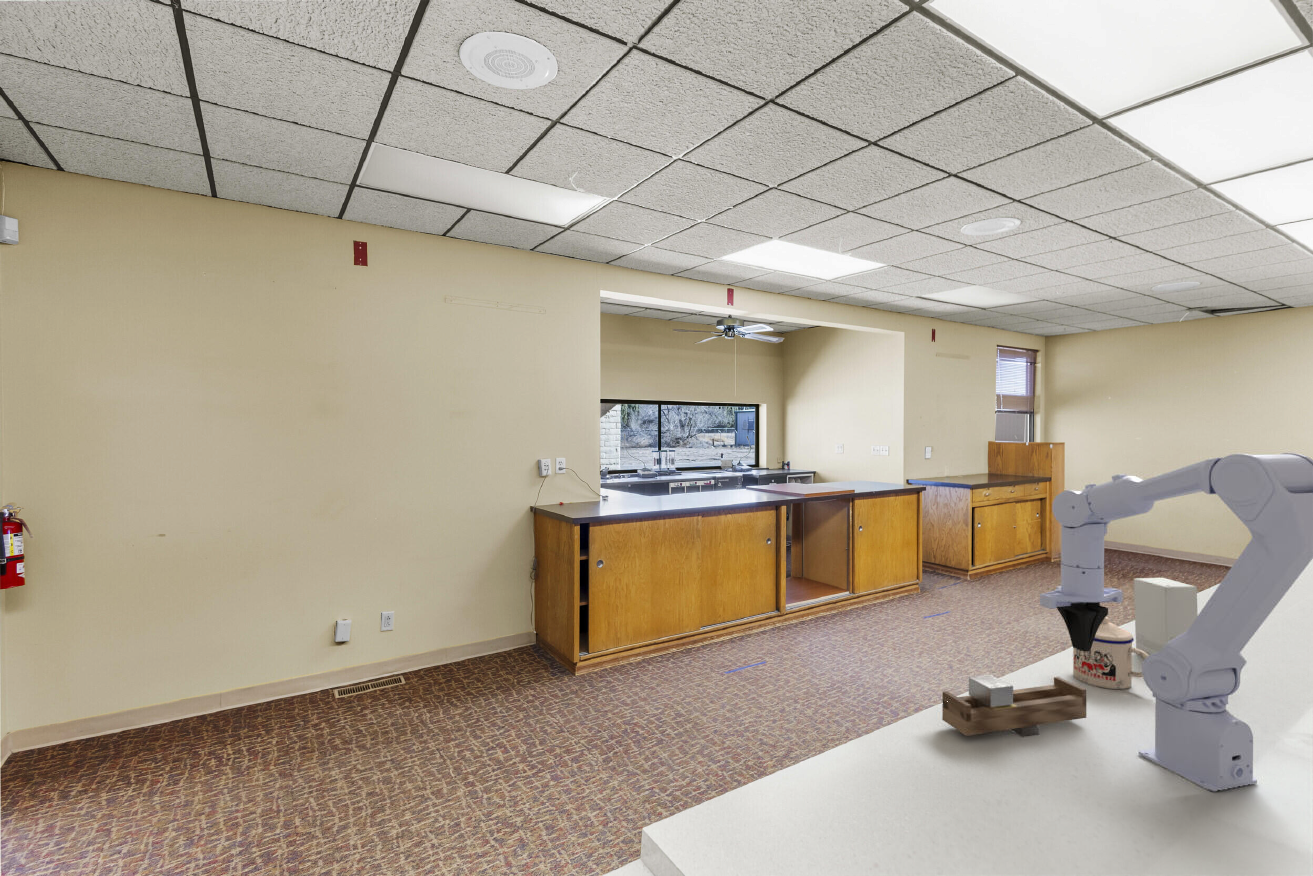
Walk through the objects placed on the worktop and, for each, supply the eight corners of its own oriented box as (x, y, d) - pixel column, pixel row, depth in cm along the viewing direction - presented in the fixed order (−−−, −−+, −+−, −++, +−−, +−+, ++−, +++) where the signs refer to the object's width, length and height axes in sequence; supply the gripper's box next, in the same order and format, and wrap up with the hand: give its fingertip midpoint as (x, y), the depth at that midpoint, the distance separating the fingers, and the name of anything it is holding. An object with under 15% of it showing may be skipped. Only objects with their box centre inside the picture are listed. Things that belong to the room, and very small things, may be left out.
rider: (990, 701, 96) (990, 674, 96) (1012, 713, 91) (1013, 685, 91) (968, 703, 95) (968, 677, 95) (990, 716, 90) (990, 688, 90)
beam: (1055, 709, 100) (1055, 675, 100) (1089, 727, 94) (1089, 690, 94) (940, 726, 94) (940, 690, 94) (968, 745, 89) (969, 707, 88)
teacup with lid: (1062, 677, 113) (1062, 614, 113) (1085, 666, 118) (1085, 606, 118) (1140, 701, 103) (1141, 632, 103) (1162, 689, 108) (1162, 623, 107)
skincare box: (1200, 668, 117) (1201, 587, 117) (1165, 667, 117) (1165, 587, 117) (1164, 652, 125) (1165, 576, 125) (1131, 652, 125) (1132, 576, 125)
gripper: (1094, 557, 104) (1093, 636, 104) (1024, 562, 100) (1023, 644, 101) (1136, 566, 97) (1135, 651, 97) (1062, 572, 93) (1062, 660, 94)
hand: (1081, 649), depth 98 cm, fingers closed
